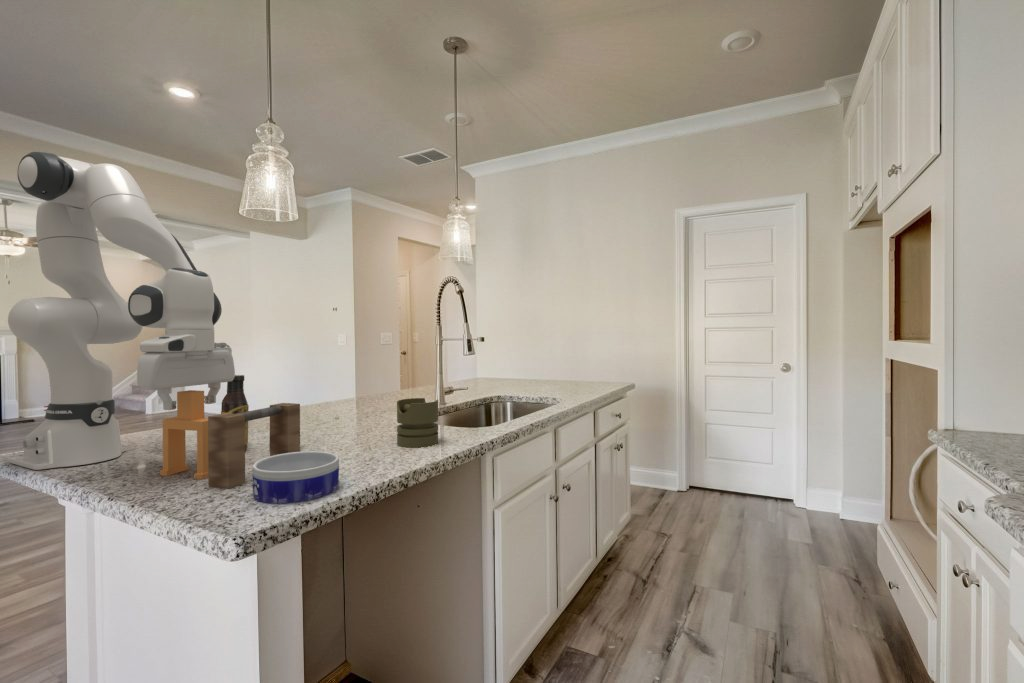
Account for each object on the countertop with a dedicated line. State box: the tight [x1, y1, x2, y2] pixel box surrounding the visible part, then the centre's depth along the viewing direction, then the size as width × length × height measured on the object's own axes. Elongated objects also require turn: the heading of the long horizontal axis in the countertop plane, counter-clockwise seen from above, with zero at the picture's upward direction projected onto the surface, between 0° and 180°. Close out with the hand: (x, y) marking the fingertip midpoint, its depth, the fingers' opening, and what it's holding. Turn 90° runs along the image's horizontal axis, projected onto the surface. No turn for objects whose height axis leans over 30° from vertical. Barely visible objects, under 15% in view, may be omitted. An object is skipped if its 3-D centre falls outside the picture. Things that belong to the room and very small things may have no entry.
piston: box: [396, 397, 439, 449], centre depth 132 cm, size 11×12×11 cm
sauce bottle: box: [220, 374, 249, 451], centre depth 123 cm, size 6×6×20 cm
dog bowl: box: [251, 450, 340, 505], centre depth 91 cm, size 15×15×6 cm
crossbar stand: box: [207, 402, 301, 490], centre depth 102 cm, size 5×20×14 cm, turn 165°
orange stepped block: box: [159, 389, 208, 480], centre depth 102 cm, size 12×5×18 cm, turn 75°
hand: (190, 406), depth 102 cm, fingers open, 8 cm apart
